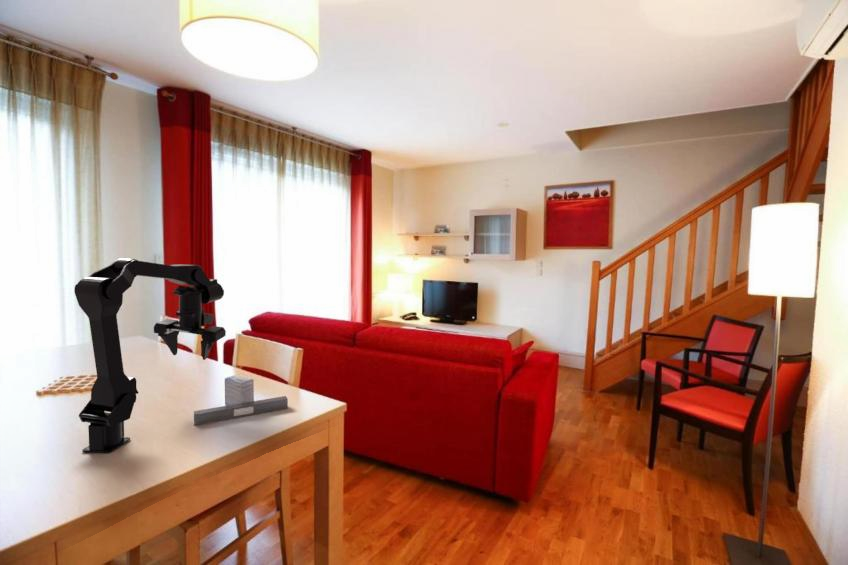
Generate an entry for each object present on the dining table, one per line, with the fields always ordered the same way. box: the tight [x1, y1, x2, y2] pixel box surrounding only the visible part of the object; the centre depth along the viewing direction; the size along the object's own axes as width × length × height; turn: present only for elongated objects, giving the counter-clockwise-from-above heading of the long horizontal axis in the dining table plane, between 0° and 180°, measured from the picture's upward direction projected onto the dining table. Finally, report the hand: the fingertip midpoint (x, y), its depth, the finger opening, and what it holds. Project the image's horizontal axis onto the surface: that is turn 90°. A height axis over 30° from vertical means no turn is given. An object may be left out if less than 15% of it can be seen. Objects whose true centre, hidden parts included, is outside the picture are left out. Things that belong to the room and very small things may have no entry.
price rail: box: [193, 395, 289, 426], centre depth 111 cm, size 24×3×3 cm, turn 123°
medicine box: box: [224, 374, 255, 406], centre depth 117 cm, size 8×4×9 cm, turn 60°
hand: (189, 357), depth 118 cm, fingers open, 9 cm apart
